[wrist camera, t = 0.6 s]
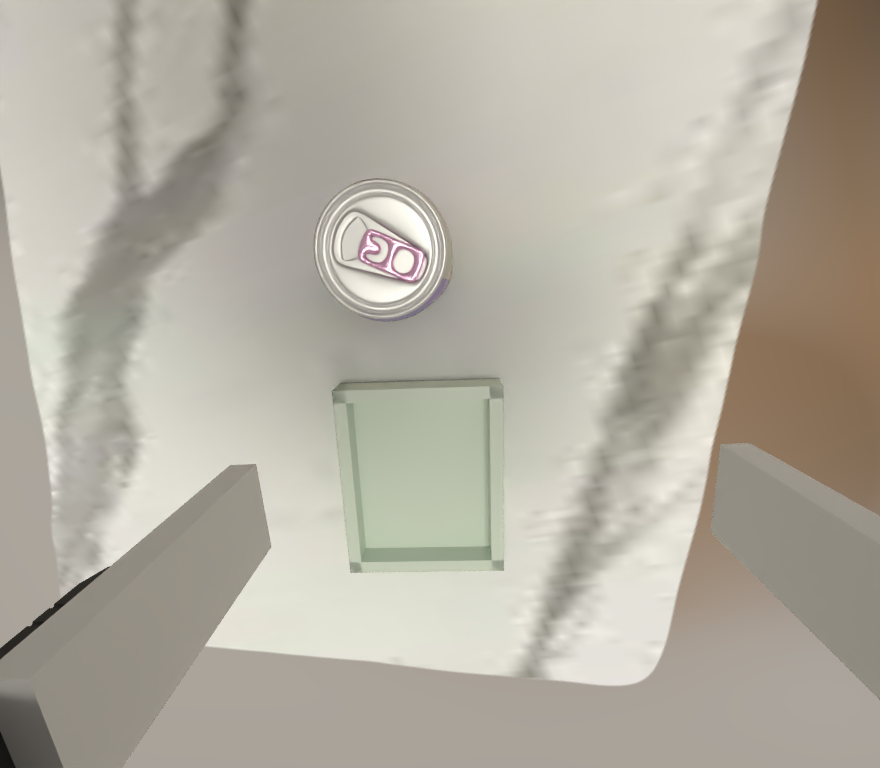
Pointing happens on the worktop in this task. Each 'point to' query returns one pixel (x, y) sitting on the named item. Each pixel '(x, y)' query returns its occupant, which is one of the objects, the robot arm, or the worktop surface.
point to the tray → (422, 474)
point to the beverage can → (383, 249)
